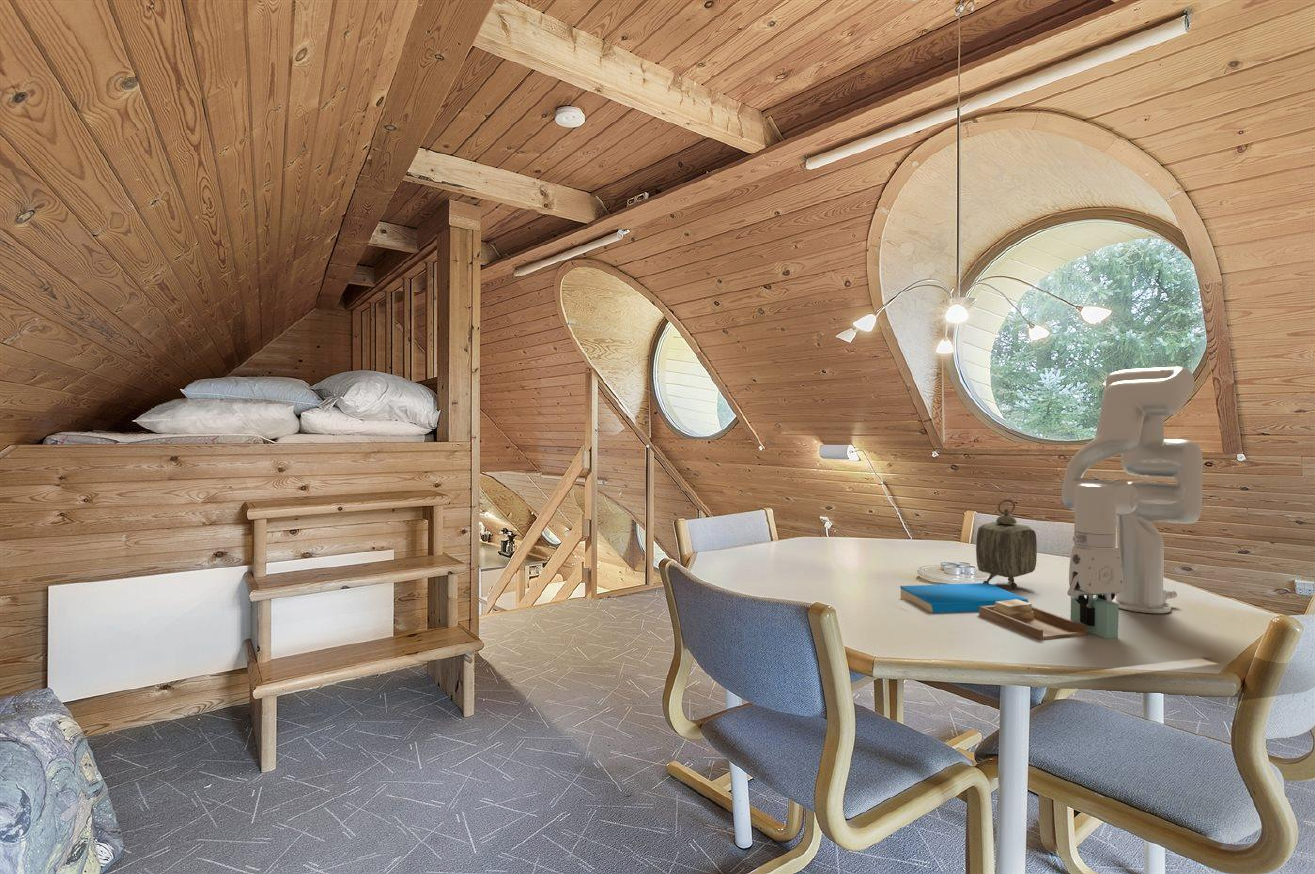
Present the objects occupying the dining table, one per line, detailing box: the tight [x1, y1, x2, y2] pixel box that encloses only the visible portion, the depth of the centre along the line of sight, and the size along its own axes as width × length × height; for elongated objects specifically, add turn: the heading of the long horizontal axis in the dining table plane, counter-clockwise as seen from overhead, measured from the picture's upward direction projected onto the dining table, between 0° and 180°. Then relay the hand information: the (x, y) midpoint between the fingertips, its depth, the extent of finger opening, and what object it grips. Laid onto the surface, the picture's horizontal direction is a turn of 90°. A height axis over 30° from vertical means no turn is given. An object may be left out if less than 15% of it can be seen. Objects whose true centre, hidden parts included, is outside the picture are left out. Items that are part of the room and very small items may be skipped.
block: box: [1069, 595, 1120, 639], centre depth 140 cm, size 9×3×8 cm, turn 13°
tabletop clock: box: [975, 498, 1038, 589], centre depth 182 cm, size 14×9×25 cm, turn 115°
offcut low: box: [994, 609, 1034, 621], centre depth 150 cm, size 7×4×2 cm, turn 103°
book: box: [899, 582, 1029, 614], centre depth 164 cm, size 17×4×25 cm
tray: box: [978, 605, 1088, 641], centre depth 145 cm, size 12×18×3 cm, turn 13°
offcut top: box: [995, 599, 1033, 614], centre depth 150 cm, size 6×4×2 cm, turn 107°
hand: (1094, 622), depth 140 cm, fingers closed on block, 3 cm apart
